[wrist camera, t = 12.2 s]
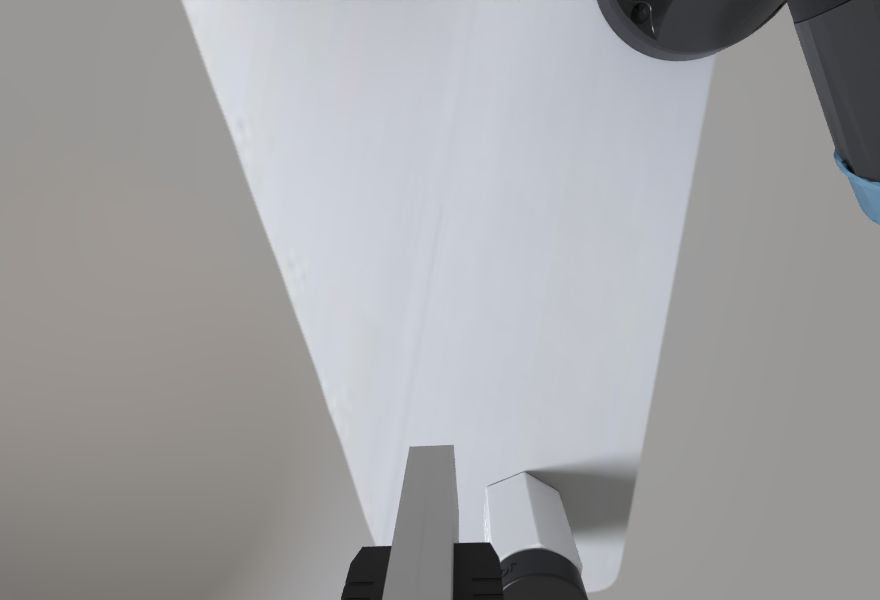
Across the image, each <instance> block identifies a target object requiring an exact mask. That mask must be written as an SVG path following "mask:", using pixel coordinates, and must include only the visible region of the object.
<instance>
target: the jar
mask: <svg viewBox="0 0 880 600" xmlns="http://www.w3.org/2000/svg"><path fill="white" fill-rule="evenodd" d="M483 526H484V539H485V542H490V543H491V545H492V546H493V548H494V550H495V551H496V553H497V555H498V557H499V558H500V567H501V576H502V585H503V595H504V600H588V598H587V595H586V591H585V588H584V585H583V582H582V578H581V573H582V563H581V560H580V557H579V554H578V551H577V548H576V544H575V541H574V538H573V535H572V532H571V529H570V526H569V523H568V519H567V516H566V513H565V510H564V507H563V504H562V501H561V497H560V494H559V492H558V491H557V490H555V489H553V488H551V487H550V486H548V485H546V484H544V483H543V482H541V481H539V480H538V479H536V478H534V477H532V476H531V475H529V474H527V473H525V472H523V473H520V474H518V475H515V476H513V477H510V478H508V479H505V480H503V481H500V482H498V483H495V484H493V485H490V486H488V487H487V488H486V493H485V505H484V517H483Z"/></svg>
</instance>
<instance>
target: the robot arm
mask: <svg viewBox="0 0 880 600" xmlns="http://www.w3.org/2000/svg"><path fill="white" fill-rule="evenodd" d="M597 2H598V4H599V7H600V9H601V12H602V14H603V16H604V17H605V19H606V21H607V22H608V24H609V25H610V27H611V28H612V29H613V31H614V32H615V33H616V34H617V35H618V36H619V37H620V38H621V39H622V40H623V41H624V42H625V43H626V44H628V45H629V46H630V47H632V48H633V49H635V50H637V51H638V52H640V53H642V54H645V55H647V56H650V57H653V58H656V59H661V60H668V61H687V60H694V59H699V58H703V57H706V56H709V55H712V54H714V53H717V52H719V51H721V50H723V49H725V48H727V47H729V46H731V45H734V44H735V43H738V42H739V41H741V40H743V39H745V38H746V37H748V36H749V35H751V34H752V33H754V32H755V31H757V30H758V29H759V28H761V27H762V26H763V25H764V24H766V23H767V22H768V21H769V20H770V19H771V18H772V17H774V16H775V15H776V13H777V12H778V11H779V10H780V9H781V8H782V7H783V6H784V5H785V4H786V2H787V3H788V6H789V9H790V12H791V15H792V18H793V21H794V25H795V29H796V31H797V34H798V37H799V41H800V43H801V47H802V49H803V53H804V55H805V58H806V61H807V65H808V67H809V70H810V73H811V76H812V79H813V82H814V85H815V88H816V91H817V94H818V97H819V100H820V103H821V106H822V109H823V112H824V115H825V118H826V121H827V124H828V127H829V130H830V133H831V136H832V139H833V142H834V145H835V152H834V158H835V161H836V164H837V166H838V167H839V168H840V170H841V171H842V172H843V173H844V174H845V175H846V176H847V177H848V179H849V181H850V184H851V186H852V188H853V191H854V192H855V195H856V197H857V200H858V202H859V204H860V207H861V208H862V210H863V212H864V213H865V214H866V215H867V216H868V217H869V218H870V219H871V220H872V221H873V222H875V223H877V224H880V0H597ZM341 600H504V595H503V585H502V576H501V567H500V558H499V557H498V555H497V553H496V551H495V550H494V548H493V546H492V545H491V543H490V542H482V543H459V510H458V497H457V484H456V471H455V458H454V445H442V446H417V447H410V448H409V453H408V459H407V464H406V470H405V475H404V481H403V487H402V492H401V498H400V503H399V509H398V514H397V520H396V525H395V531H394V537H393V542H392V546H376V547H362V548H361V550H360V551H359V553H358V554H357V555H356V557H355V558H354V560H353V561H352V562H351V564H350V568H349V572H348V575H347V579H346V584H345V586H344V589H343V593H342V596H341Z"/></svg>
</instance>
